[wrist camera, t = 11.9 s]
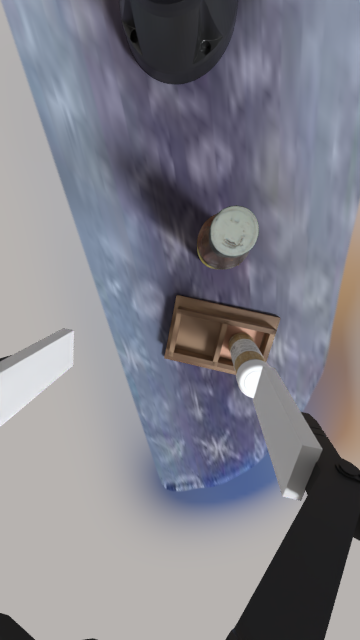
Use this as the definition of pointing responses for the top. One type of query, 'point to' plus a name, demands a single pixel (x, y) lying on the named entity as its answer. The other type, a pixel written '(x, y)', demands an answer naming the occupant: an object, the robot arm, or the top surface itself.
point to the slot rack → (214, 332)
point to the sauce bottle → (227, 237)
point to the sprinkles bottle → (246, 362)
